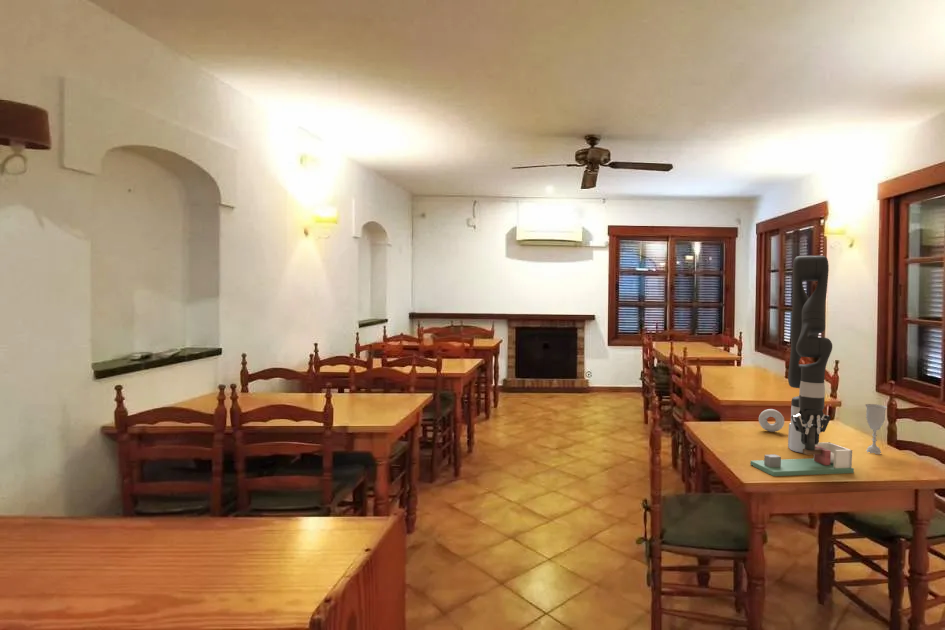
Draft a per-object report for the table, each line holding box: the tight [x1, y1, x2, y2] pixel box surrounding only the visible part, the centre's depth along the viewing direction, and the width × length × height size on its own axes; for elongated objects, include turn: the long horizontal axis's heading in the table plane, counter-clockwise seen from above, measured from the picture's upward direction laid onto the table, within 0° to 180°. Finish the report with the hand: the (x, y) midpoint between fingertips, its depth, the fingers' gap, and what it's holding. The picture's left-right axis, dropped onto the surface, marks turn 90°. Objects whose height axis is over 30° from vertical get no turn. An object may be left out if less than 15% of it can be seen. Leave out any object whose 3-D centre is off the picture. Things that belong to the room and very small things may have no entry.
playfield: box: [749, 454, 855, 477], centre depth 195 cm, size 12×30×5 cm, turn 99°
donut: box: [758, 408, 785, 433], centre depth 246 cm, size 10×4×10 cm, turn 60°
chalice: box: [864, 403, 888, 455], centre depth 216 cm, size 7×7×18 cm
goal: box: [815, 441, 853, 468], centre depth 197 cm, size 10×6×6 cm, turn 9°
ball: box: [830, 452, 834, 464], centre depth 197 cm, size 4×4×4 cm
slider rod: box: [802, 426, 831, 465], centre depth 196 cm, size 5×8×13 cm, turn 99°
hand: (809, 443), depth 195 cm, fingers closed on slider rod, 3 cm apart
